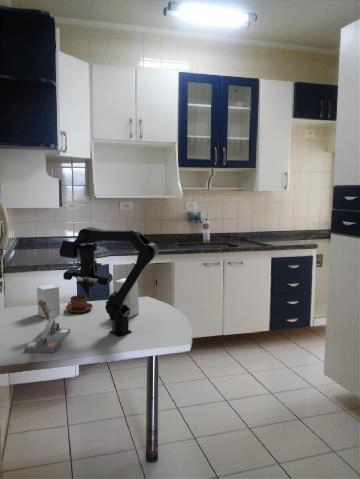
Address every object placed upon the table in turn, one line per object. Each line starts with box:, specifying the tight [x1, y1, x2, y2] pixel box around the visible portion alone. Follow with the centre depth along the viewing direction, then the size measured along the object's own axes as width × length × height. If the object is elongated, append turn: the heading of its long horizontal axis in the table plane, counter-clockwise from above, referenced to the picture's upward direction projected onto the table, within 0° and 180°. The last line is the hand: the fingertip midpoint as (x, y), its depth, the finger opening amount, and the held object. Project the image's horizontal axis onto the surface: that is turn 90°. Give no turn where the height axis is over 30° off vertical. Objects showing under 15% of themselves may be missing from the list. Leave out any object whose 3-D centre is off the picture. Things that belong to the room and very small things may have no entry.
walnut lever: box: [37, 299, 57, 328], centre depth 159 cm, size 3×3×13 cm
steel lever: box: [40, 311, 59, 342], centre depth 146 cm, size 3×3×13 cm
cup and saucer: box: [65, 294, 93, 314], centre depth 189 cm, size 12×12×6 cm
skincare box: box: [114, 277, 140, 318], centre depth 183 cm, size 8×7×16 cm
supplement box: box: [36, 283, 61, 319], centre depth 183 cm, size 7×7×13 cm
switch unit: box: [24, 322, 71, 353], centre depth 153 cm, size 10×19×4 cm, turn 177°
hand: (88, 296), depth 166 cm, fingers closed
